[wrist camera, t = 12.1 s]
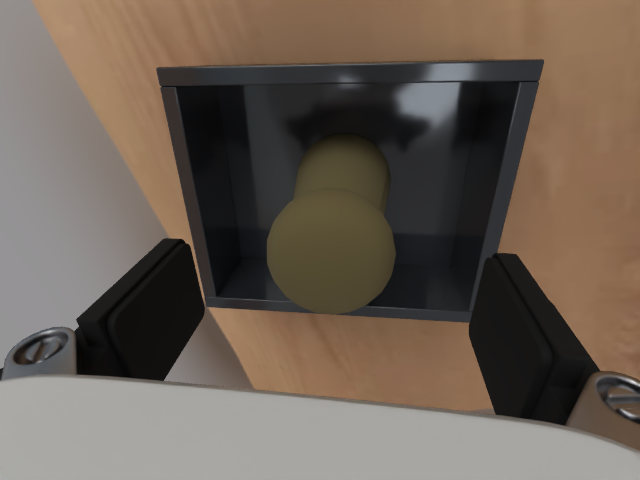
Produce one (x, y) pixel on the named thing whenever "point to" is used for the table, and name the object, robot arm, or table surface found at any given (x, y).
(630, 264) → the table surface
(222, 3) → the table surface
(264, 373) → the table surface
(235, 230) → the open box
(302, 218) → the olive pawn
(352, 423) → the robot arm
